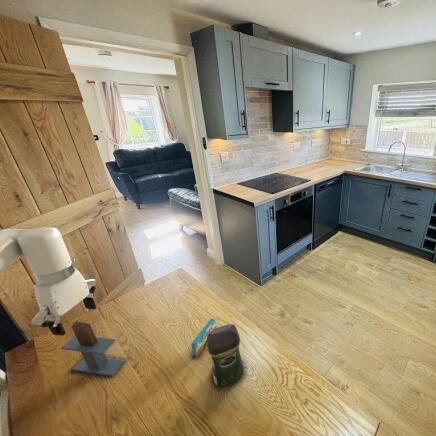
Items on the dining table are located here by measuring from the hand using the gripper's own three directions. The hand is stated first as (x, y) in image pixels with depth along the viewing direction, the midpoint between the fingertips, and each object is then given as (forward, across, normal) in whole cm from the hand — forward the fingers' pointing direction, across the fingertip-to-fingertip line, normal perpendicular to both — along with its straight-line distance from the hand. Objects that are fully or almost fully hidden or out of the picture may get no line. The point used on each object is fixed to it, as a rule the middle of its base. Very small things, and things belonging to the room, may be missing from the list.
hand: (76, 320), depth 70 cm
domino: (+10, 0, 0) cm, 10 cm away
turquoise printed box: (+21, -14, +31) cm, 40 cm away
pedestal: (+21, 0, +1) cm, 21 cm away
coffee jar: (+20, -4, +44) cm, 48 cm away
